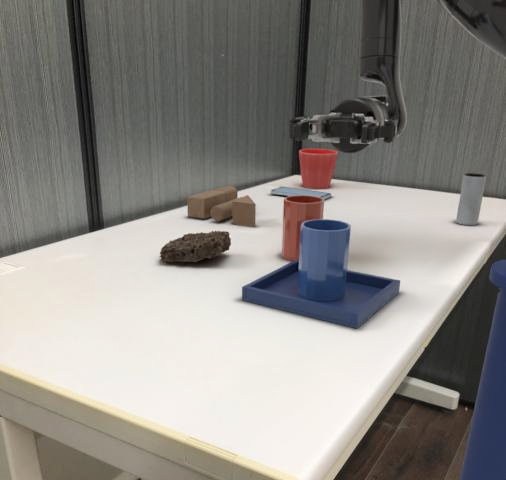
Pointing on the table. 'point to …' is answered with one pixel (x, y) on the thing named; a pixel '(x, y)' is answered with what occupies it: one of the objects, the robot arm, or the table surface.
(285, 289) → the blue tray
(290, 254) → the red cup
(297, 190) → the smartphone
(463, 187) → the grey hollow tube
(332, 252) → the blue cup
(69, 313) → the table surface
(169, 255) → the dark brown rock
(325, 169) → the flower pot
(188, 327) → the table surface
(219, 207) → the wooden block set
